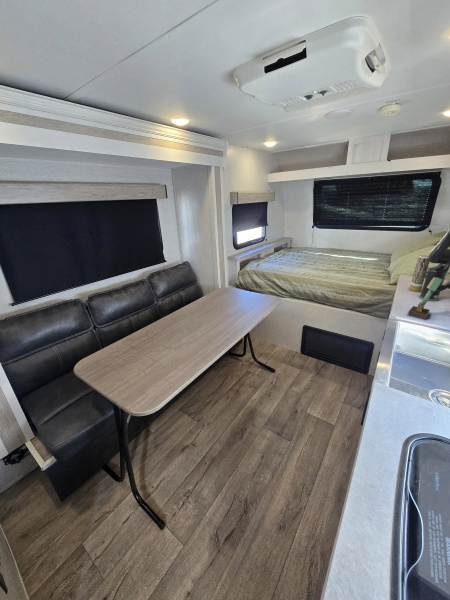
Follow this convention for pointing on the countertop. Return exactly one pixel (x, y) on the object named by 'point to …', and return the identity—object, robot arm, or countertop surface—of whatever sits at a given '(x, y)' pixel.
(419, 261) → the bark textured cylinder
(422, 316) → the brush stand
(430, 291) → the brush
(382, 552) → the countertop surface
